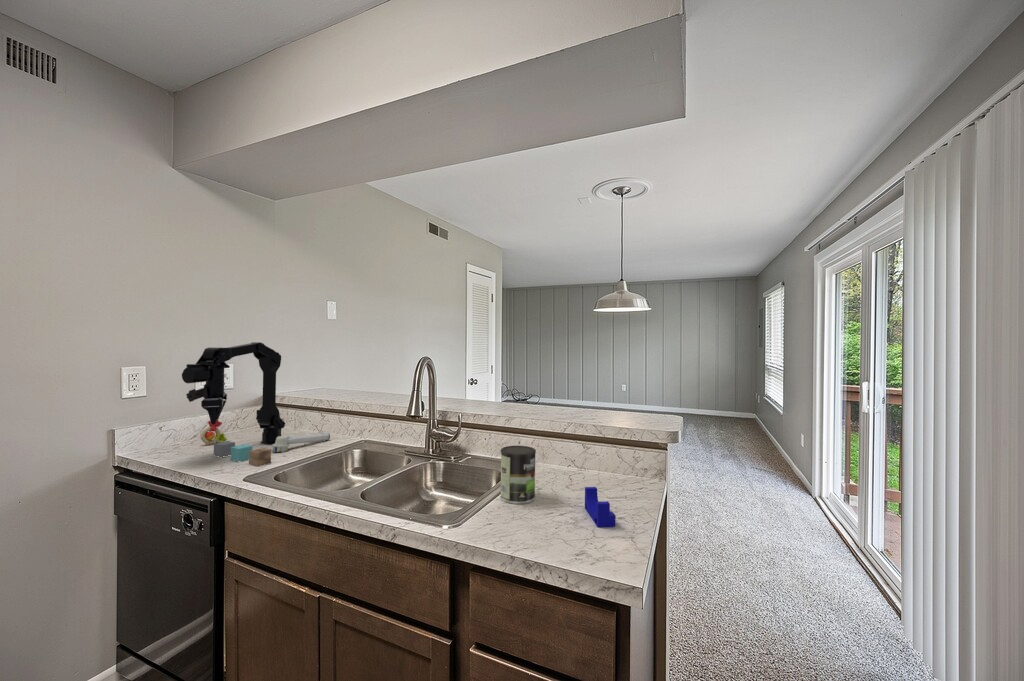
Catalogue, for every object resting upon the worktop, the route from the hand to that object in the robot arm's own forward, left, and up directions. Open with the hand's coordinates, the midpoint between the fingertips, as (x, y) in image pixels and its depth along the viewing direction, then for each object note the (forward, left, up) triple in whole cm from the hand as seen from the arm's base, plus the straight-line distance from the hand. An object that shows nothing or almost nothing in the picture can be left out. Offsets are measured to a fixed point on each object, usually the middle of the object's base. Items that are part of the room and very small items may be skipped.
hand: (214, 421), depth 158 cm
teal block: (-4, +10, -14) cm, 18 cm away
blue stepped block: (-17, +143, -14) cm, 144 cm away
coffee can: (-19, +118, -14) cm, 120 cm away
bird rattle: (-12, -23, -14) cm, 30 cm away
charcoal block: (-4, -1, -14) cm, 15 cm away
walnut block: (-4, +21, -14) cm, 26 cm away
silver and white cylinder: (-28, +12, -14) cm, 34 cm away
